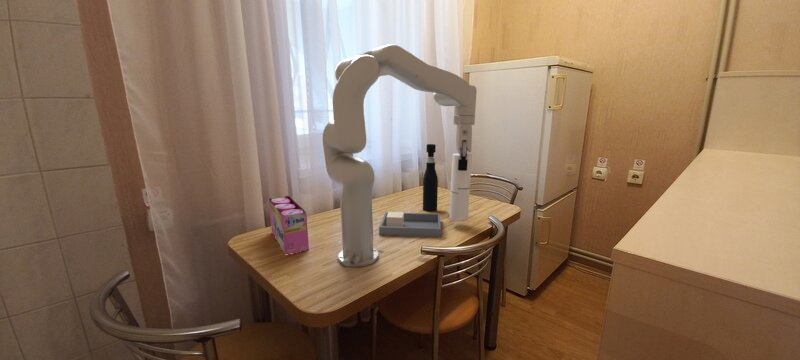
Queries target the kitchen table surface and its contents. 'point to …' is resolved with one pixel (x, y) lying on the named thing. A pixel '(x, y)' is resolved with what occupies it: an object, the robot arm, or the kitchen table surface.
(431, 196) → the wine bottle
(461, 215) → the cylindrical container
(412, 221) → the tray
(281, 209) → the gum box
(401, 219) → the cream box
